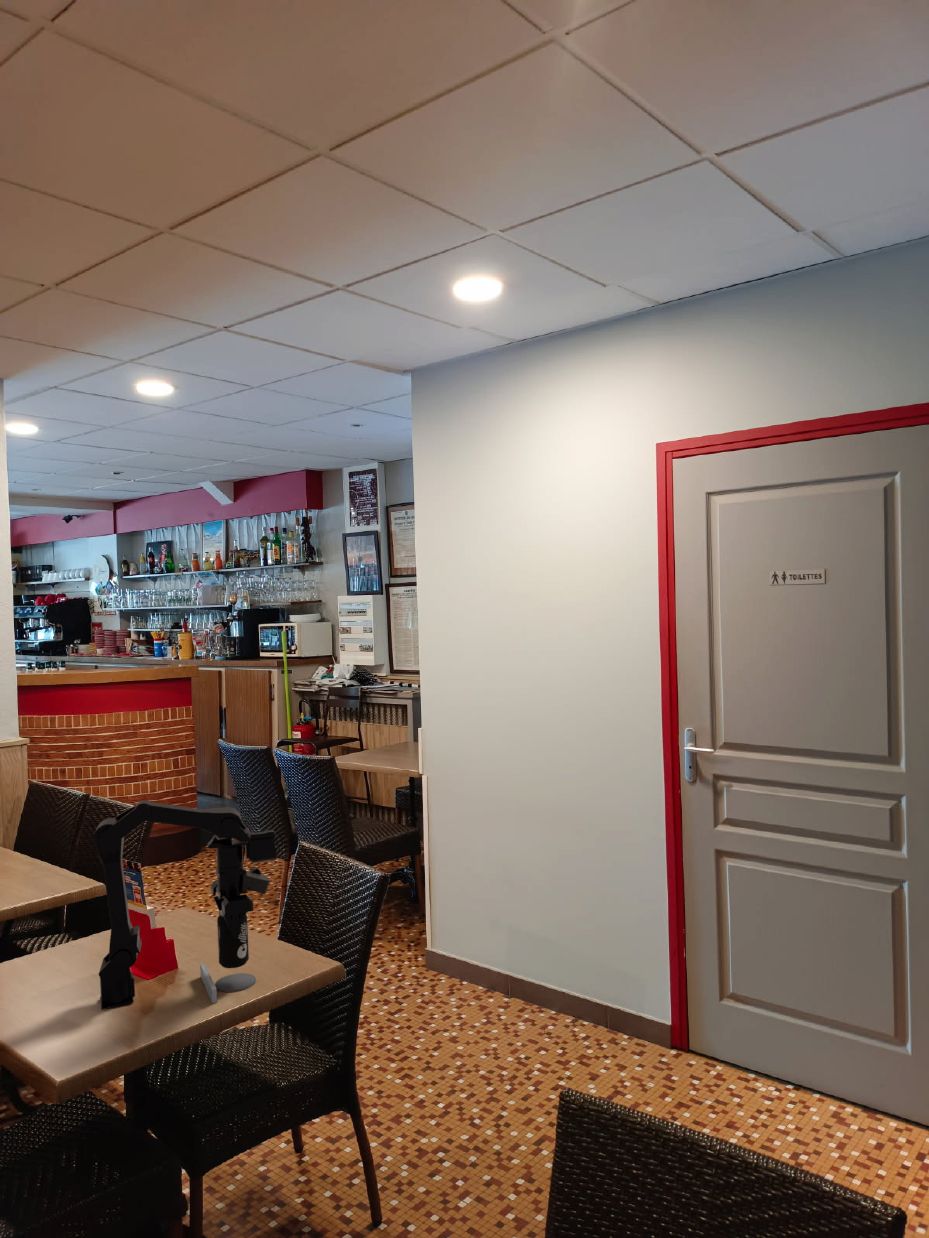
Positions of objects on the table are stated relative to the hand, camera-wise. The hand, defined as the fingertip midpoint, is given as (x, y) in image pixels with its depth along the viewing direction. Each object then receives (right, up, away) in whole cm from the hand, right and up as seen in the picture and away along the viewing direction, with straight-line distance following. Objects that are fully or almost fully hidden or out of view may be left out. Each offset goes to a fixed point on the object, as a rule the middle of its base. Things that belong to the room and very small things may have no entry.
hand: (232, 933), depth 204 cm
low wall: (-5, -12, -2) cm, 13 cm away
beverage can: (0, -7, 0) cm, 7 cm away
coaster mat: (+1, -11, 0) cm, 11 cm away
